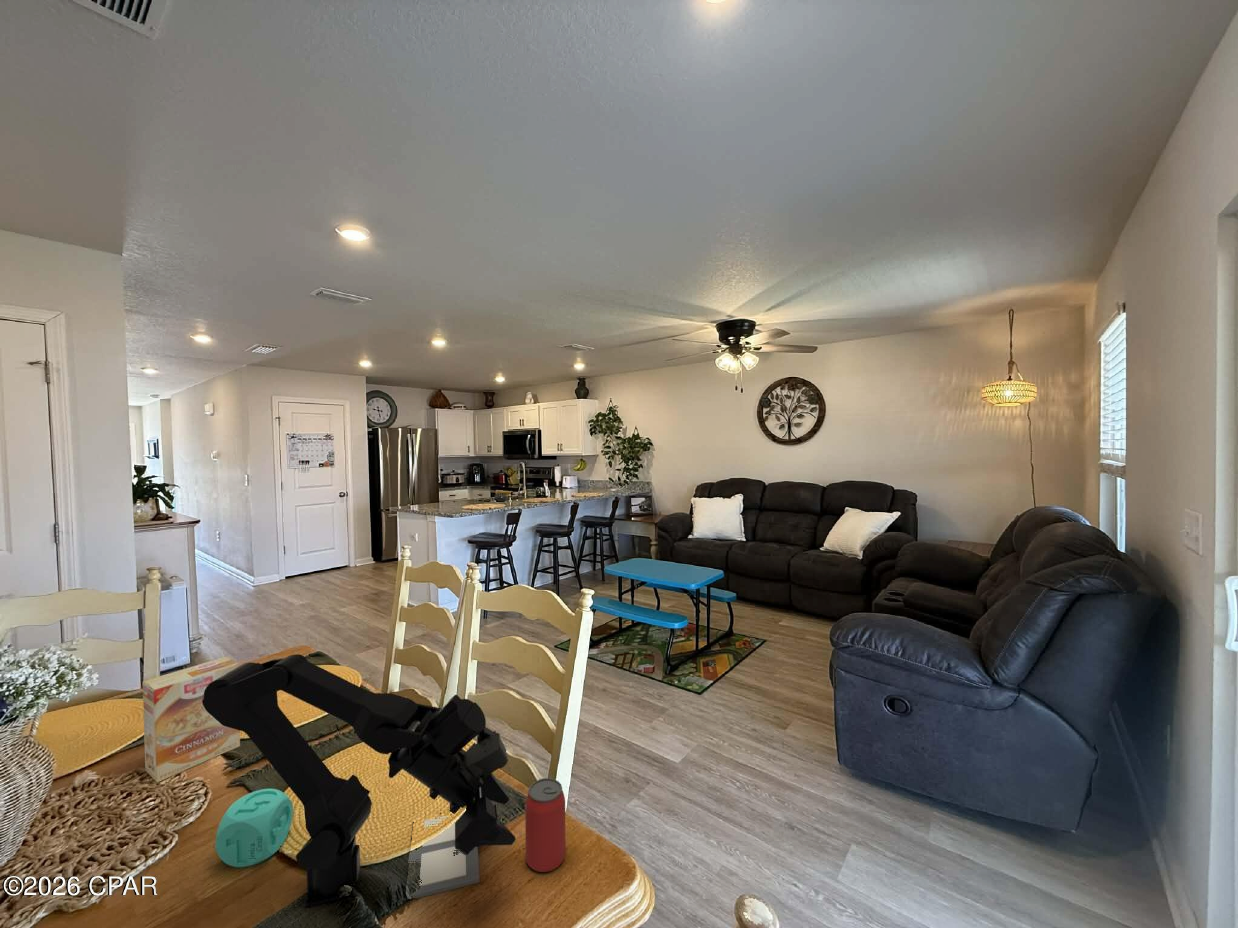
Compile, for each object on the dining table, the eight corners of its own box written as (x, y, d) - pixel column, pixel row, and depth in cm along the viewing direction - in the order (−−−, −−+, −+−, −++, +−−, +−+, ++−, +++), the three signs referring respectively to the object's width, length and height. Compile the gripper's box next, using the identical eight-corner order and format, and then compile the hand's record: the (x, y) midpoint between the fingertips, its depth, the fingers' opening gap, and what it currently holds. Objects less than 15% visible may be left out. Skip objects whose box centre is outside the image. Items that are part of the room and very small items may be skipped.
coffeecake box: (156, 783, 103) (152, 689, 103) (144, 771, 107) (140, 680, 106) (241, 746, 116) (239, 662, 115) (228, 736, 120) (225, 655, 119)
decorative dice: (215, 869, 83) (213, 821, 82) (247, 831, 91) (246, 788, 90) (266, 867, 83) (264, 819, 83) (294, 829, 91) (293, 786, 91)
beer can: (558, 877, 81) (558, 804, 81) (519, 871, 83) (519, 799, 82) (570, 845, 88) (569, 778, 87) (533, 839, 89) (533, 773, 89)
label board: (404, 901, 77) (404, 896, 77) (413, 821, 93) (413, 817, 93) (479, 882, 80) (479, 877, 80) (475, 808, 97) (475, 804, 97)
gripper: (479, 761, 72) (556, 819, 76) (474, 697, 90) (536, 747, 94) (420, 827, 70) (502, 883, 74) (426, 748, 88) (492, 797, 91)
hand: (510, 820), depth 83 cm, fingers open, 9 cm apart
